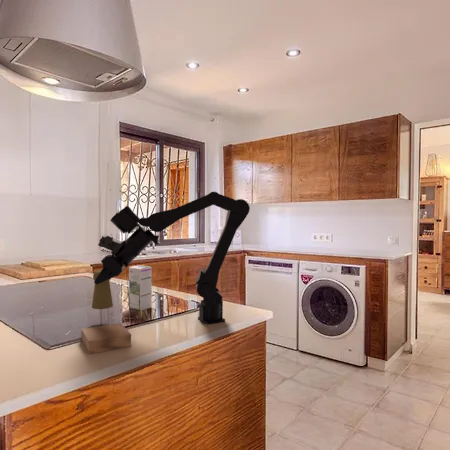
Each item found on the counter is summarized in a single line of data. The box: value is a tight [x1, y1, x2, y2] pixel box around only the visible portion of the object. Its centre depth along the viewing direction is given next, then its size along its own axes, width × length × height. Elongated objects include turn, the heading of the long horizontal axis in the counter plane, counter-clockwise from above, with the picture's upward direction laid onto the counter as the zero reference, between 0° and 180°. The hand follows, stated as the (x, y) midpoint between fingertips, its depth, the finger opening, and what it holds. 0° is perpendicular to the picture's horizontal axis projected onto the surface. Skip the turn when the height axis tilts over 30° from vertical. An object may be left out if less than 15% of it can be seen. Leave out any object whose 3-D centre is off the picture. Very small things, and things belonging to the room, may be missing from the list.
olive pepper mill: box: [91, 269, 114, 310], centre depth 107 cm, size 6×6×11 cm
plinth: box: [80, 323, 132, 355], centre depth 90 cm, size 10×10×3 cm
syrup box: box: [128, 264, 153, 311], centre depth 123 cm, size 6×6×14 cm
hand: (97, 281), depth 106 cm, fingers closed on olive pepper mill, 5 cm apart
